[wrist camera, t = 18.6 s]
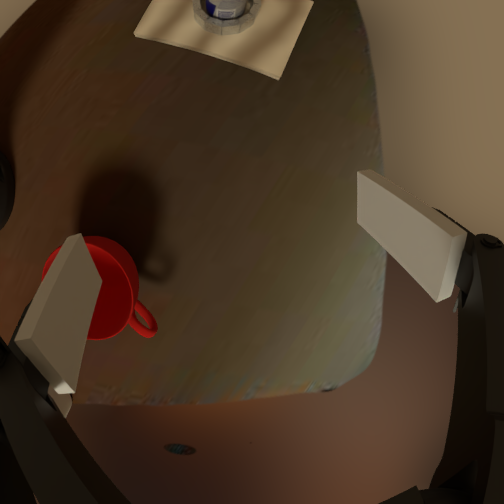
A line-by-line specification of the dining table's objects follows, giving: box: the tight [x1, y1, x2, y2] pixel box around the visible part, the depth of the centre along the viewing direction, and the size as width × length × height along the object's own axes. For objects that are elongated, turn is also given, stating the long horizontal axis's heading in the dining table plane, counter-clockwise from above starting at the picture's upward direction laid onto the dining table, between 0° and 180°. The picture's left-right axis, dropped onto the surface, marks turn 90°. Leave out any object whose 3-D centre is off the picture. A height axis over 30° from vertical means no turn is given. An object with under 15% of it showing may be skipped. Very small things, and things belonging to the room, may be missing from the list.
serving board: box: [134, 0, 314, 80], centre depth 34 cm, size 22×15×2 cm
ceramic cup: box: [42, 236, 158, 340], centre depth 39 cm, size 13×17×10 cm
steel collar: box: [192, 0, 261, 36], centre depth 32 cm, size 9×9×3 cm
